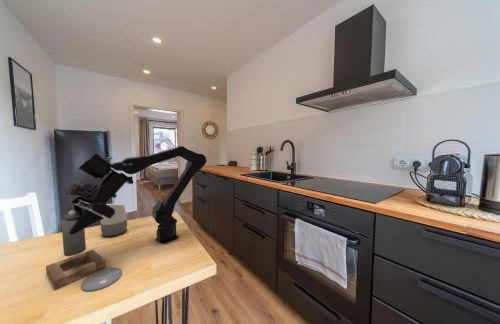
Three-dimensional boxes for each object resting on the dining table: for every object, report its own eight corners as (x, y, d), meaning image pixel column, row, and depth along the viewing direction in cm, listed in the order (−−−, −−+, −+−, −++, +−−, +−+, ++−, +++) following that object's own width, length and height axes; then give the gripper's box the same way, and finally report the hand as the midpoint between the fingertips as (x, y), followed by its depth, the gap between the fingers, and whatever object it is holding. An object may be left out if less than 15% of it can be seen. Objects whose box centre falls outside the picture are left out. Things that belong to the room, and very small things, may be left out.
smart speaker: (132, 229, 85) (131, 199, 84) (113, 239, 76) (111, 205, 75) (116, 227, 87) (114, 198, 86) (95, 236, 78) (93, 204, 77)
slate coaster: (114, 265, 59) (114, 263, 59) (127, 276, 54) (127, 274, 54) (76, 282, 51) (76, 280, 51) (87, 297, 46) (87, 294, 46)
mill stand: (93, 256, 64) (92, 249, 64) (105, 267, 58) (105, 260, 57) (46, 274, 55) (45, 266, 55) (55, 290, 49) (54, 280, 48)
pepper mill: (83, 245, 59) (80, 206, 58) (88, 250, 56) (85, 209, 55) (62, 252, 55) (58, 210, 54) (66, 258, 52) (62, 214, 51)
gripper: (74, 171, 62) (27, 213, 53) (100, 174, 53) (47, 226, 44) (104, 189, 70) (66, 229, 61) (130, 195, 60) (90, 243, 51)
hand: (67, 231), depth 54 cm, fingers closed on pepper mill, 5 cm apart
